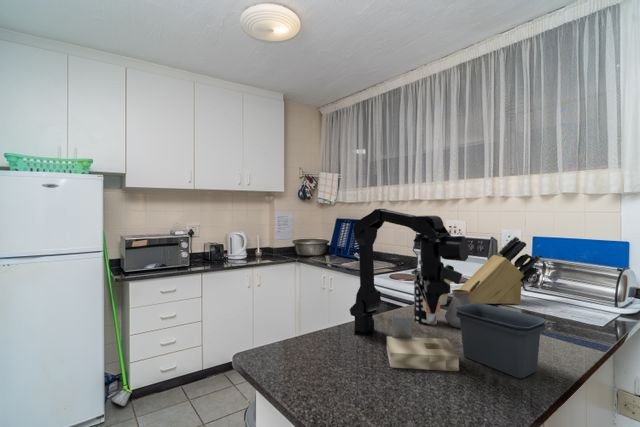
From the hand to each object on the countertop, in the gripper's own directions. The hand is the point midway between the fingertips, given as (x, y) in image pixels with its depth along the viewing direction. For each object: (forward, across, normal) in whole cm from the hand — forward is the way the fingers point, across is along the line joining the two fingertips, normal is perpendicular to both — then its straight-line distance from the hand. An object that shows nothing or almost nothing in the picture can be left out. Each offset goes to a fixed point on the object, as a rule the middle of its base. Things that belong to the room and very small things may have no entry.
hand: (431, 310), depth 96 cm
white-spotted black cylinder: (+13, +32, -5) cm, 35 cm away
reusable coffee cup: (+13, +60, -16) cm, 64 cm away
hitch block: (+13, -2, +4) cm, 14 cm away
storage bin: (+14, -2, -18) cm, 23 cm away
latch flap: (+6, +3, +8) cm, 11 cm away
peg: (+4, 0, 0) cm, 4 cm away
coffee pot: (+14, +32, -21) cm, 41 cm away
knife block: (+14, +65, -45) cm, 80 cm away
